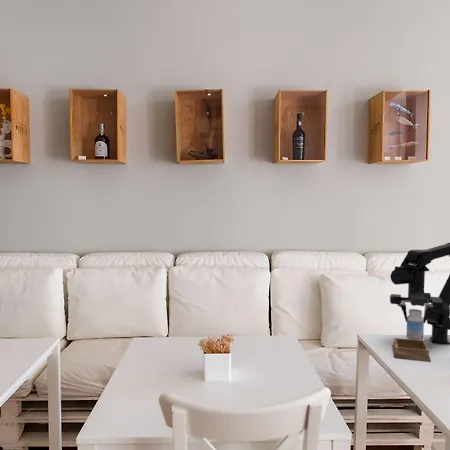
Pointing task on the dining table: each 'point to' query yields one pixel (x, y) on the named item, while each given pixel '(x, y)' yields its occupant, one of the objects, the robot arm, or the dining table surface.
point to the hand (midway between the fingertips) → (415, 322)
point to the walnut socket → (411, 350)
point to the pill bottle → (415, 325)
